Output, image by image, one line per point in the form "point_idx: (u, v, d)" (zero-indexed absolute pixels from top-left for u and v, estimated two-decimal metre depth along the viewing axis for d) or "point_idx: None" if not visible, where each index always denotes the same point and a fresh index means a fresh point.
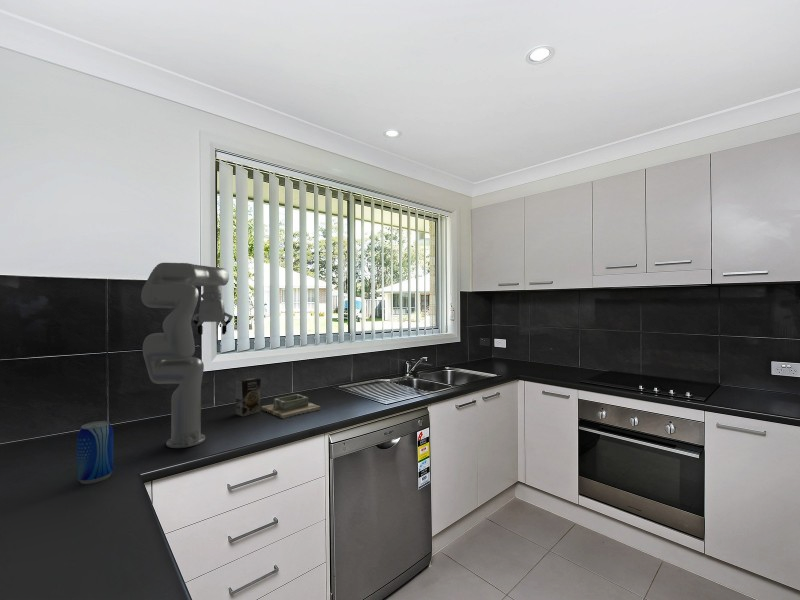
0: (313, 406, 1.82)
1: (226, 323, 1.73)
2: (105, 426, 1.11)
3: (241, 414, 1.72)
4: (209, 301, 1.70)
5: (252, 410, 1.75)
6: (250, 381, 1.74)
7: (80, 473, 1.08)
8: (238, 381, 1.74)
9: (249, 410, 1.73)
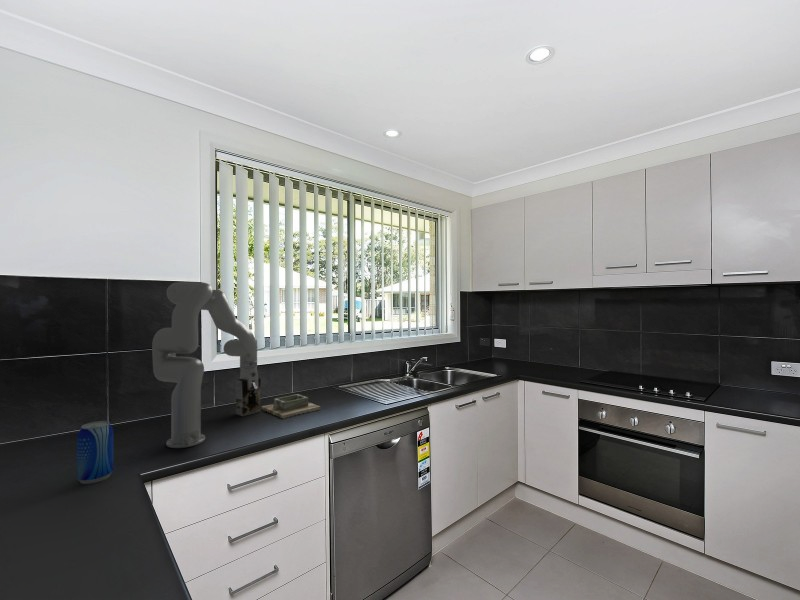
0: (313, 406, 1.82)
1: None
2: (105, 426, 1.11)
3: (241, 414, 1.72)
4: None
5: (252, 410, 1.75)
6: None
7: (80, 473, 1.08)
8: (238, 381, 1.74)
9: (249, 410, 1.73)
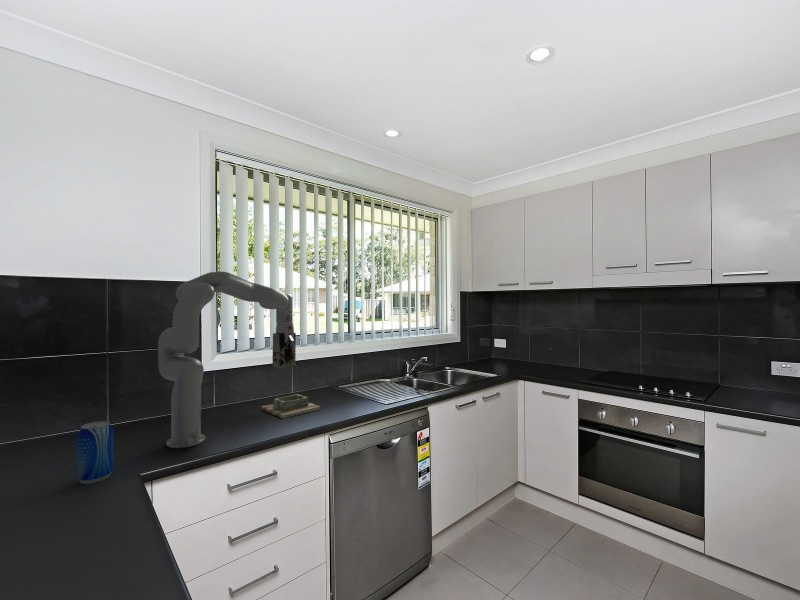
0: (313, 406, 1.82)
1: None
2: (105, 426, 1.11)
3: (278, 366, 1.77)
4: None
5: (288, 363, 1.80)
6: None
7: (80, 473, 1.08)
8: (275, 334, 1.79)
9: (285, 362, 1.79)
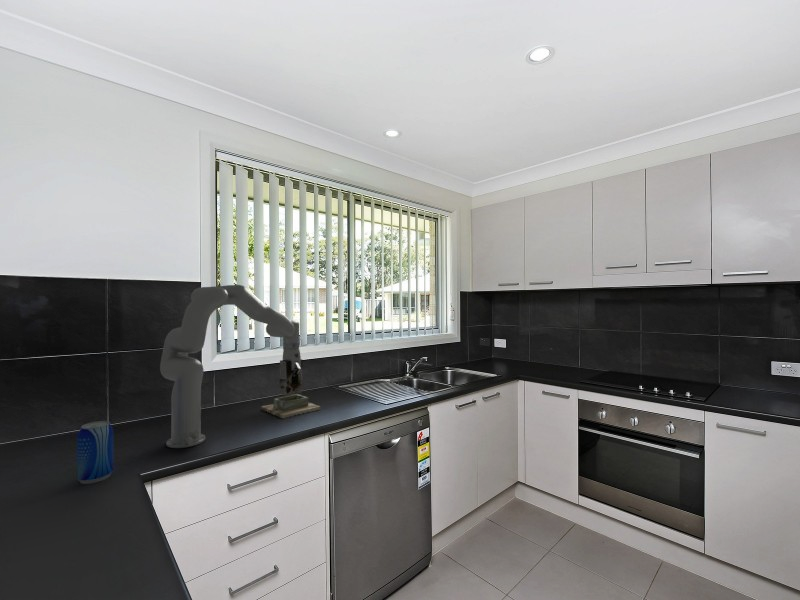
0: (313, 406, 1.82)
1: None
2: (105, 426, 1.11)
3: (285, 393, 1.78)
4: None
5: (295, 390, 1.81)
6: None
7: (80, 473, 1.08)
8: (282, 362, 1.80)
9: (292, 389, 1.79)
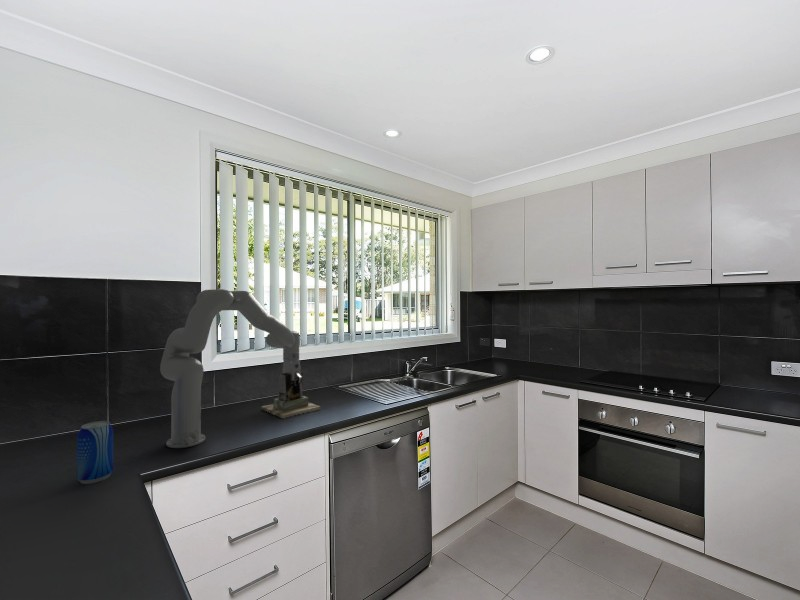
0: (313, 406, 1.82)
1: None
2: (105, 426, 1.11)
3: None
4: None
5: None
6: None
7: (80, 473, 1.08)
8: (281, 375, 1.79)
9: None
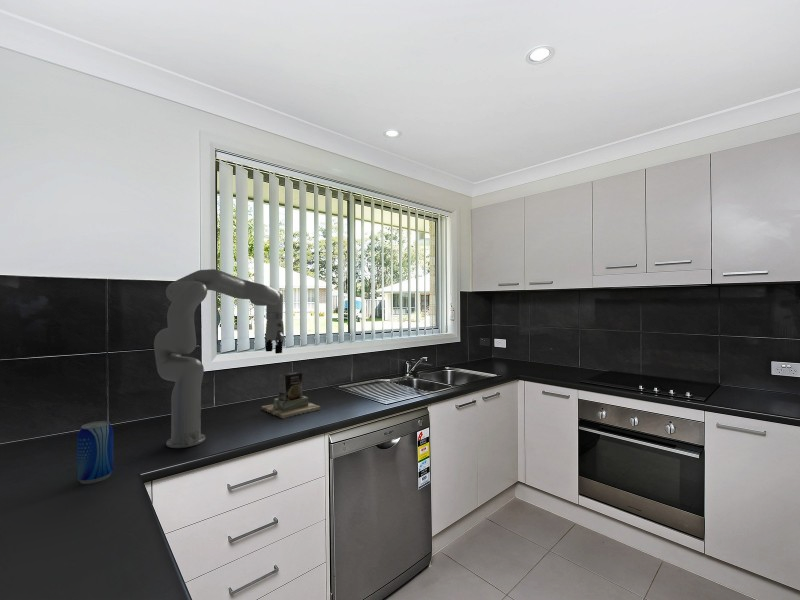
0: (313, 406, 1.82)
1: None
2: (105, 426, 1.11)
3: None
4: None
5: None
6: (293, 375, 1.80)
7: (80, 473, 1.08)
8: (281, 375, 1.80)
9: None
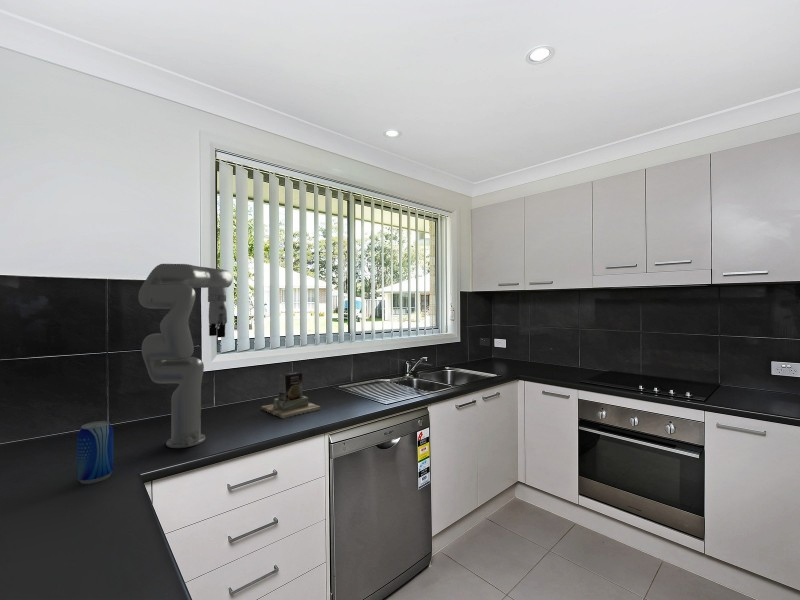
0: (313, 406, 1.82)
1: None
2: (105, 426, 1.11)
3: None
4: None
5: None
6: (293, 375, 1.80)
7: (80, 473, 1.08)
8: (281, 375, 1.80)
9: None
